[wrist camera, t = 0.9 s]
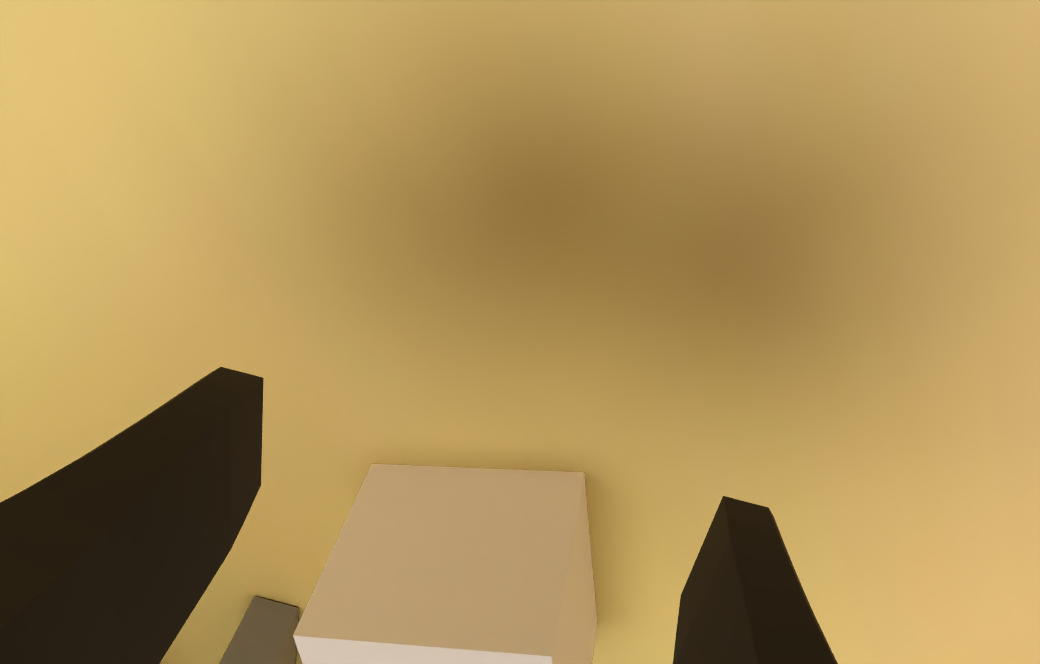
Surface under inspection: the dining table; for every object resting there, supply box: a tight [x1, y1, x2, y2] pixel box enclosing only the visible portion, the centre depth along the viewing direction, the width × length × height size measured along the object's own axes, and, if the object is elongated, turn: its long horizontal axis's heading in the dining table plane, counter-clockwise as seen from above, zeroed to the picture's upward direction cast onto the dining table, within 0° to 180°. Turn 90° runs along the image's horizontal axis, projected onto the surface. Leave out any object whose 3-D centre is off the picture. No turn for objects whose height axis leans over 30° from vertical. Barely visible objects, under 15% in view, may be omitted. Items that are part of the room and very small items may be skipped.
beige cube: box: [293, 464, 597, 664], centre depth 25 cm, size 6×6×6 cm
